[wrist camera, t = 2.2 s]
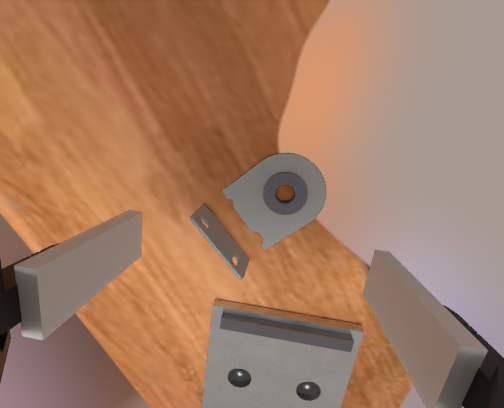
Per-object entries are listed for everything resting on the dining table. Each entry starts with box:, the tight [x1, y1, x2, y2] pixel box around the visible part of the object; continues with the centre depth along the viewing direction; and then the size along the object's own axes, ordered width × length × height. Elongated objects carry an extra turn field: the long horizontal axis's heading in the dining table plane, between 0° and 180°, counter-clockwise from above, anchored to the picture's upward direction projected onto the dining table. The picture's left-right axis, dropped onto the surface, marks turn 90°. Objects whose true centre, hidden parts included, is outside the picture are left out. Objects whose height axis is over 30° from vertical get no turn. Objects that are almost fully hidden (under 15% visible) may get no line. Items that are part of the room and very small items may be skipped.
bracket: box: [190, 153, 326, 279], centre depth 20 cm, size 7×10×4 cm, turn 127°
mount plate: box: [202, 299, 364, 408], centre depth 26 cm, size 16×14×2 cm
